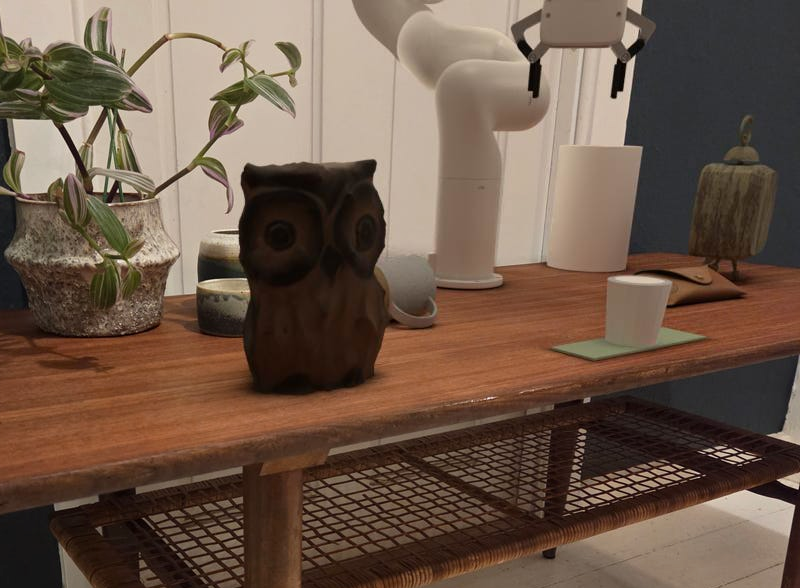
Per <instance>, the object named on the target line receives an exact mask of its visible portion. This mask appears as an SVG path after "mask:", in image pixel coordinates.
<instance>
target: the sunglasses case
mask: <svg viewBox="0 0 800 588" xmlns="http://www.w3.org/2000/svg"><path fill="white" fill-rule="evenodd" d="M632 275H641V276H651V277H658V278H662V279H666V280H670V281H671V282H672V286H671V290H670V294H669V298H668V302H667V306H670V307H671V306H677V305H682V304H693V303H703V302H704V303H705V302H717V301H724V300H730V299H733V298H734V299H735V298H739V297H742V296H745V295H749V292H747V291H745V290H743V288H741V287H740V286H738V285H736V284H734V283H733V282H731V281H730V280H729V279H727V278H726V277H725V276H723V275H721V274H720V273H718V271H717V272H715V271H714V270H712V269H711V268H710V263H709V264H707V265H704V266H702V265H700V266H687V267H675V268H667V269H663V268H649V269H643V270H639V271H637V272H635V273H633V274H632Z"/></svg>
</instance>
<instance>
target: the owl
mask: <svg viewBox="0 0 800 588" xmlns="http://www.w3.org/2000/svg"><path fill="white" fill-rule="evenodd" d="M377 166H378V162H377V159H375V158H368V159H360V160H356V161H349V162H348V161H346V162H337V161H330V162H320V163H319V162H316V163H313V162H308V161H300V162H291V163H284V164H281V165H280V164H273V163H272V164H267V165H261V166H260V165H256V164H253V163H250V162H247V163H245V165H244V166H243V171H241V173H240V183H239V185H240V188H241V190H242V193H243V198H244V205H243V208H242V211H241V214H240V216H239V219H238V224H237V229H238V237H237V238H238V246H239V253H238V261H239V264H240V266H241V267H242V269H243V272H244V274H245V278H246V281H247V286H248V288H249V301H248V305H247V308H246V312H245V316H244V320H243V330H242V341H243V342H242V343H243V350H244V355H245V359H246V362H247V366H248V369H249V372H250V375H251V377H252V387H253V389H254V390H255V391H256V392H258V393H261V394H275V395H294V396H298V395H308V394H311V393H314V392H317V391H325V392H329V391H333V390H335V389H339V388H344V387H346V388H354V387H356V386H358V385H361V384H364V383H365V381H366V380H367V379H368V378H370V377H372V376H374V375H375V364H376V361H377V358H378V355H379V353H380V352H381V349H382V346H383V345H382V344H383V340H384V337H385V333H386V329H387V327H388V326H389V324H390V321H391V320H390V318H389V314H388V309H387V307H386V306H385V300H384V298H385V295H386V291H385V290H384V288H383V287H382V286H381V284H380V282H378V280H377V278H376V276H375V274H374V268H375V265H376V263H377V261H379V259H380V257H381V255H382V253H383V252H384V250H385V248H386V237H387V232H386V231H387V222H386V220H385V208H384V204H383V201H382V199H381V197H380V193H379V191H378V190H377V189H376V187H375V185H374V178H375V177H374V176H375V173H376V171H377Z"/></svg>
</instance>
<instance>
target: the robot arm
mask: <svg viewBox="0 0 800 588" xmlns="http://www.w3.org/2000/svg"><path fill="white" fill-rule="evenodd" d="M443 1H445V0H351V3H352V6H353V9H354V11H355V14H356V16H357V17H358V19H359V21H360V23H361V24H362V26H363V27H364V28H365V29H366V31H368V33H369V34H370V35H371V36H372V37H374V39H376V40H377V41H378V42H379V43H380V44H381V45H382V46H383V47H385V49H387V51H389V52H390V54H392V56H393V57H394V58H395V59H396V61H398V63H399V64H400V65H401V66H402V67H403V68H404V69H405V70H406V71H407V72H408V73H409V74H410V76H412V77H413V79H414V80H415V81H416V82H417V83H418V84H419V85H420V86H422V88H424V89H425V90H428V91H430V92H433V93H434V107H435V109H434V110H435V117H436V126H437V141H438V144H437V145H438V147H437V150H438V153H437V174H436V177H437V178H436V179H437V180H436V191H435V192H436V195H435V211H434V212H435V213H434V227H433V228H434V229H433V244H432V245H433V246H432V250H430V252H428V253H425V255H422V254H421V255H420V254H419V256H421V257H423V258H424V259H425V260H426V261H427V262H428V263H429V265H430V266H431V268H432V270H433V273H434V276H435V280H436V287H439V288H446V289H448V288H449V289H459V290H460V289H461V290H480V289H492V288H497V287H500V286H502V285H503V283H504V282H503V281H504V277H503V276H502V275H501V274H499V273H497V272H496V273H495V272H494V270H495V259H496V258H495V256H496V246H497V245H496V244H497V234H498V223H499V222H498V221H499V211H500V210H499V209H500V198H501V187H502V173H503V160H502V154H501V153H502V152H501V150H500V147H499V144H498V141H497V139H496V136H495V133H494V132H511V133H512V132H523V131H528V130H530V129H533V128H534V127H535V126H537V125H538V124H540V122H542V120H543V119H544V118H545V117H546V115H547V113H548V111H549V108H550V104H551V87H550V83H549V80H548V77H547V76H546V73H545V72H544V71H543V70H542V68H543V65H542V64H541V62H542V61H541V60H542V58H543V57H544V55H545V54H546V53H547V52H548V51H549V50H550V49H557V50H558V49H559V50H560V49H561V50H564V49H567V50H569V49H610V50H611V51H612V53H613V55H614V56H615V57H616V62H615V64H614V65H613V72H612V80H611V86H610V87H611V88H610V95H609V96H610V99H611V100H617V98H618V93H623V92H624V90H625V82H626V81H625V80H626V73H627V66H628V63H629V62H630V61H631V60H632V59H633V58H634V57H635V56H636V55H638V54H639V52H641V51H642V50H643V49H644V48H645V46H646V44H647V43H648V41H649V40H650V38H651V36H652V34H653V33H654V31H655V30H656V28H657V25H656V23H655V22H654V21H652V20H650V19H649V18H647V17H645V16H644V15H642V14H640V13H639V12H637V11H635V10H633V9H632V8H631V7H628V3H629V2H628V0H542V5H541V8H540V9H538V10H536V11H534V12H532V13H530V14H529V15H527V16H526V17H524V18H522V19H520V20H518V21H516V22H515V23H512V24H511V26H510V32H511V34H512V38H513V40H514V41H512V40H511V39H510V38H509V37H507V35H505V34H503V33H501V32H500V31H498V30H496V29H493V28H490V27H483V26H475V25H472V26H470V25H462V24H455V23H450V22H448V21H445V20H443V19H442V18H441V17H440V16H438V15H437V14H436V13H435V12H434V11H433V10H432V9H431V8H430V7H429V6H428V5H436V4H439V3H442V2H443ZM626 23H628V24H630V25H632V26H634V27H635V28H637V29H639V30H640V32H639V35H638V37H637V38H636V40H635V41H634V42H633V43H632V44H631V45H630V46H629V47H628V48H626V46H625V45H624V43H623V42H622V41H623V40H622V39H623V38H624V33H625V28H626ZM538 24H539V43H538V44H536V46H535V47H534V49H533V48H532V47H531V45H530V44H528V42H527V39H526V37H525V31H527V30H529V29H531V28H532V27H534V26H536V25H538ZM407 255H412V253H405V255H404V256H407Z"/></svg>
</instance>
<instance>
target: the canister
mask: <svg viewBox="0 0 800 588" xmlns="http://www.w3.org/2000/svg"><path fill="white" fill-rule="evenodd" d="M643 148H644V147H643V146H641V145H640V146H638V145H609V144H608V145H606V144H560V145H559V146H558V157H557V165H556V166H557V167H556V177H555V185H554V193H553V201H552V202H553V204H552V212H551V220H550V222H551V224H550V231H549V239H548V249H547V256H546V257H547V259H546V266H548V267H550V268H553V269H559V270H565V271H572V272H586V273H587V272H588V273H610V272H612V273H613V272H621V271H625V270H626V267H627V262H628V261H627V260H628V256H629V247H630V239H631V232H632V227H633V219H634V212H635V205H636V197H637V191H638V183H639V175H640V170H641V161H642V155H643Z"/></svg>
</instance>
